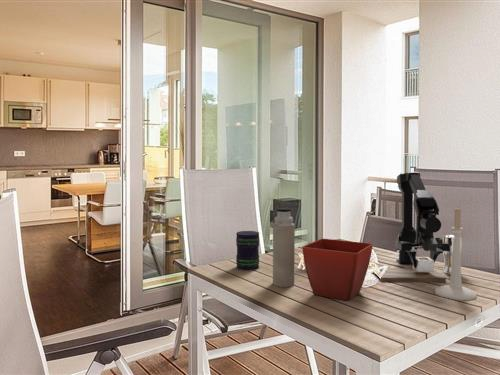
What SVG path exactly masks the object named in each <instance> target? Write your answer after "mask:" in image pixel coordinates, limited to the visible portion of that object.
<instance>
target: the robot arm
mask: <svg viewBox="0 0 500 375" xmlns="http://www.w3.org/2000/svg"><path fill="white" fill-rule="evenodd" d="M396 183H397V187H398V189H399V191H400V193H401V227H400V229H398V232H397V236H396V239H395V241H394V248H395V249H396V250H398V259H396V260H395V261H396V262H397V263H398V264H401V265H407V264H408V265H412V267H413V266H414V268H416V257H417V253H418V252H417V250H418V249H423V251H425V252H429V258H431V259H432V260H434V264H435V263H436V261H437V258H438V256H439V255H441V254H443V251H451V246H450V244H449V243H446V242H443V238H442V237H435V236H434V234H435V233H437V232H439V231H440V230H441V229H442V221H441V220H440V219H439V218H438V217H437V216H439V212H440V208H439V205H438V203H437V200H436V199H435V197H434V196H433V194H432V193H431V192H429V191H427V189H426V187H425V185H424V182H423V181H422V178H421V172H419V171H407V172H402V173H401V172H400V173H399V174H398V175H397V176H396ZM414 211H415V214H416V223H415V224H416V225H415V226H416V229H415V228H414Z"/></svg>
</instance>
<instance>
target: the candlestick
mask: <svg viewBox="0 0 500 375" xmlns="http://www.w3.org/2000/svg"><path fill="white" fill-rule="evenodd" d="M453 222H454V224H453V226H452V227H451V229H452V233H453V235H454V236H455V237H454V242H453V254H452V266H451V274H450V277H449V278H450V279H449V284H446V285H445V284H444V285H441V286H438V287H436V288H435V290H434V294H435V295H437V296H439V297H441V298H444V297H445V299H448V298H449V300H457V301H471V300H475V299H477V293H475V291H473V290H472V289H470V288H468V287H466V286H463V285H462V264H461V263H462V262H461V261H462V259H461V258H462V256H461V254H462V250H461V251H460V236H461V234H462V230H463V229H464V228H463V227H461V225H462V208H461V207H455V208H454V219H453Z"/></svg>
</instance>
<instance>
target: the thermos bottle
mask: <svg viewBox="0 0 500 375" xmlns="http://www.w3.org/2000/svg"><path fill="white" fill-rule="evenodd" d="M276 210H277V212H276V214H277V215H276V216H275V217H274V223H272V285H273V286H275V287H281V288H288V287H294V285H295V267H296V266H295V261H296V260H295V251H296V250H295V246H296V245H295V244H296V242H295V241H296V240H295V237H296V236H295V235H296V233H295V232H296V231H295V230H296V229H295V228H296V226H295V223H294V218H293V216H291V210H292V209H290V208H285V207H284V208H282V207H281V208H277V209H276Z"/></svg>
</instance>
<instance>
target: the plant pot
mask: <svg viewBox="0 0 500 375" xmlns="http://www.w3.org/2000/svg"><path fill="white" fill-rule="evenodd" d="M372 252H373V243H369V242H362V241H361V242H359V241H351V240H350V241H349V240H341V239H332V238H320V239H317V240H315V241H313V242H310V243H308V244H305V245H302V256H303V261H304V266H305V271H306V274H307V279H308V281H309V284H310V288H311V291H312V294H313V295H315V296H321V297H327V298H331V299H338V300H343V301H351V300H352V299H353V298H354V297H356V296H357V295H358V294H359V293H360V292H361V290H362V287H363V285H364V282H365V279H366V276H367V272H368V269H369V265H370V260H371V256H372V254H373V253H372Z"/></svg>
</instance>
